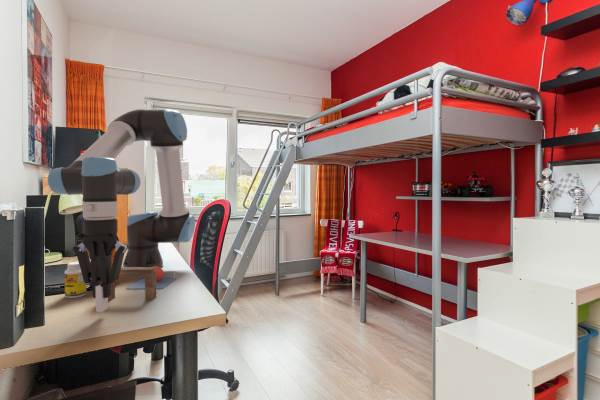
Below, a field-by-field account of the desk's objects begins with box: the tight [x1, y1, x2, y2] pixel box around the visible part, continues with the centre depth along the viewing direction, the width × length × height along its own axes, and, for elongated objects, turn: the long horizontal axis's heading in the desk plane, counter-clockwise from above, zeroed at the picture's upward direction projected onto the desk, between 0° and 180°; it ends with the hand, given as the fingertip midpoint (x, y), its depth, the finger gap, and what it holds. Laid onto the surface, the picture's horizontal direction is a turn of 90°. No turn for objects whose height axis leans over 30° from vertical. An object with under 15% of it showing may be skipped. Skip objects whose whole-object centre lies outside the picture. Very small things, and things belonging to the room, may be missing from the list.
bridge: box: [108, 266, 157, 302], centre depth 96 cm, size 3×14×9 cm, turn 91°
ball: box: [154, 266, 164, 282], centre depth 114 cm, size 6×6×6 cm
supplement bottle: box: [64, 261, 88, 299], centre depth 99 cm, size 6×6×10 cm
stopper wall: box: [162, 270, 176, 278], centre depth 119 cm, size 2×10×2 cm, turn 91°
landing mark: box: [125, 277, 177, 290], centre depth 112 cm, size 12×12×1 cm
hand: (102, 309), depth 82 cm, fingers closed
